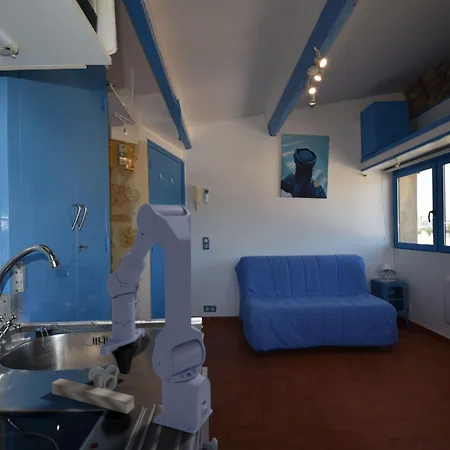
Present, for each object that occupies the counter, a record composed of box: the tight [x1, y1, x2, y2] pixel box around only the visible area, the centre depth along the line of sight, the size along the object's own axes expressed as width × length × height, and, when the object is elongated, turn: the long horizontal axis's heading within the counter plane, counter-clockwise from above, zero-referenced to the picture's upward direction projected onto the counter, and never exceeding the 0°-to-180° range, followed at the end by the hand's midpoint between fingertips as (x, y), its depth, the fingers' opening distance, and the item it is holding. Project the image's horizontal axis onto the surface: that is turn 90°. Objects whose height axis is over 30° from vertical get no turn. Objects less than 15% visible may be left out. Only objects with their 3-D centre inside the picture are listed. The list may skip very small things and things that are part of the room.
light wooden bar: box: [51, 375, 135, 415], centre depth 75 cm, size 22×4×4 cm, turn 67°
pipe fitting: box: [87, 364, 120, 391], centre depth 83 cm, size 8×4×7 cm
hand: (124, 372), depth 85 cm, fingers closed
